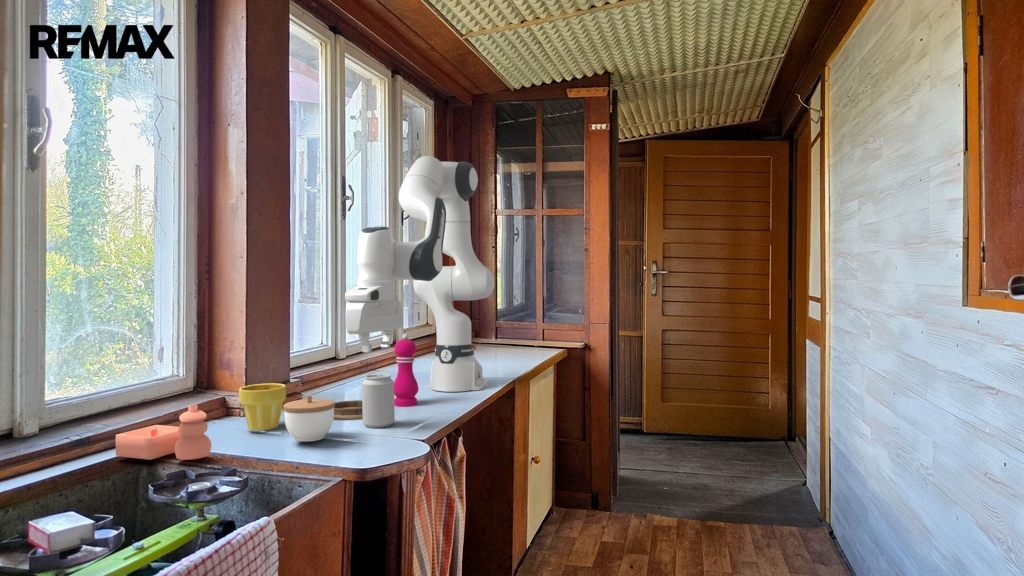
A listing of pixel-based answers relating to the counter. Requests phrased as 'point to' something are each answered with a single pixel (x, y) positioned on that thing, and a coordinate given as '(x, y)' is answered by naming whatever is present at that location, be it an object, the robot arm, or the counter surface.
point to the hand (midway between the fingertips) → (376, 350)
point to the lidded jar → (309, 418)
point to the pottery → (168, 439)
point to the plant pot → (262, 405)
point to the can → (378, 401)
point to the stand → (348, 410)
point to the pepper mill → (405, 374)
